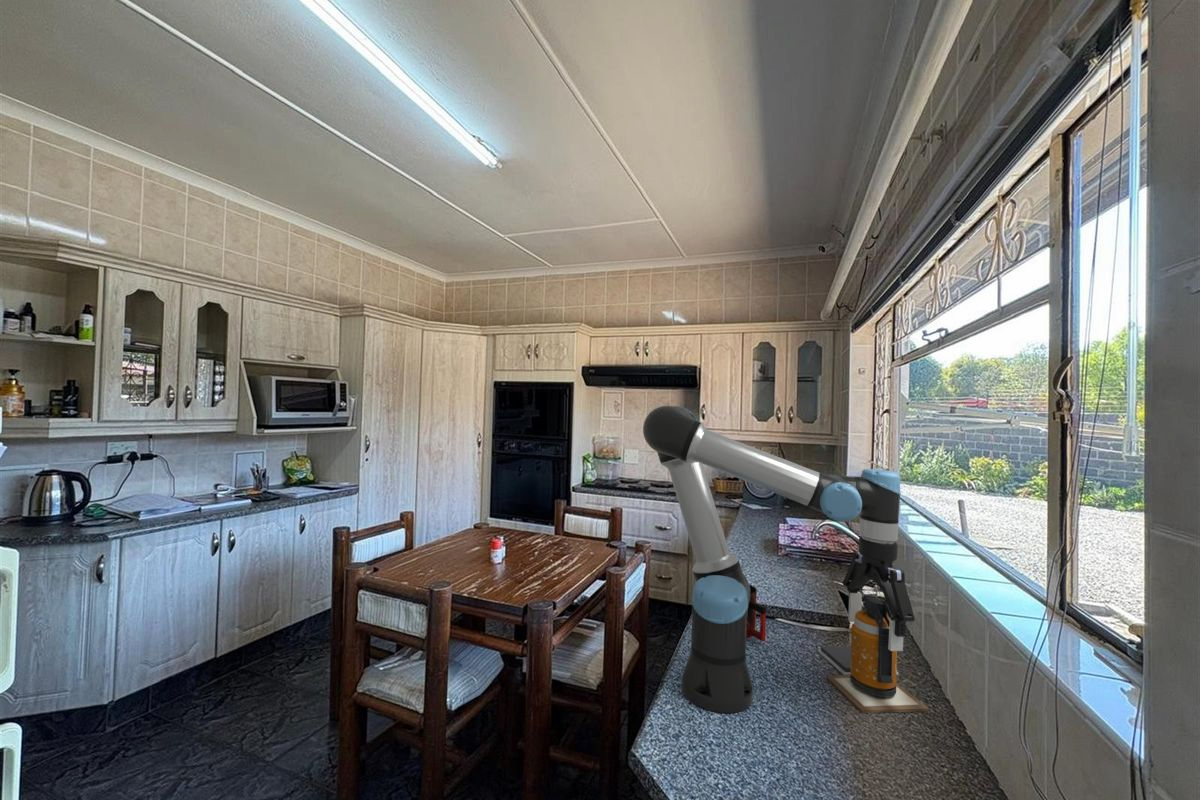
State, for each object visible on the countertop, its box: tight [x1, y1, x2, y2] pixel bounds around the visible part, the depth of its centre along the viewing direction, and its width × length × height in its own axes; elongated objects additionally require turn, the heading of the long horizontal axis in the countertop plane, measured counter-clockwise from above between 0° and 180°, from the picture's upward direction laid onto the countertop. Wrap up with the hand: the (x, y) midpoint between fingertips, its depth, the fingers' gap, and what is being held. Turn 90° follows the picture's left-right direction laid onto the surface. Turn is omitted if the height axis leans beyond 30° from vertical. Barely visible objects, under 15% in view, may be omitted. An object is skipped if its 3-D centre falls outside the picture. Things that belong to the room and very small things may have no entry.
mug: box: [746, 584, 767, 643], centre depth 135 cm, size 10×14×12 cm
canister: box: [850, 594, 898, 697], centre depth 106 cm, size 9×11×20 cm
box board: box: [825, 674, 930, 714], centre depth 106 cm, size 15×13×1 cm
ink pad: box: [817, 645, 900, 676], centre depth 120 cm, size 14×12×2 cm
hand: (873, 634), depth 107 cm, fingers open, 13 cm apart
